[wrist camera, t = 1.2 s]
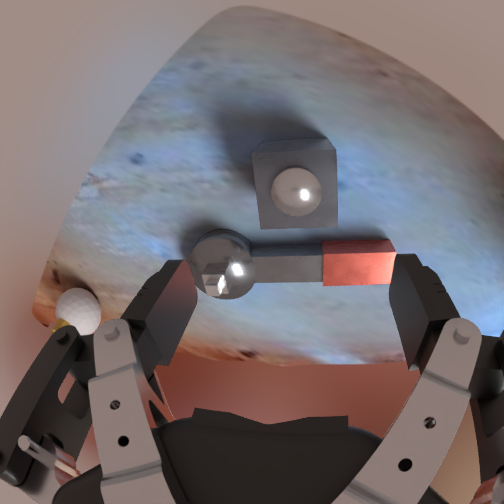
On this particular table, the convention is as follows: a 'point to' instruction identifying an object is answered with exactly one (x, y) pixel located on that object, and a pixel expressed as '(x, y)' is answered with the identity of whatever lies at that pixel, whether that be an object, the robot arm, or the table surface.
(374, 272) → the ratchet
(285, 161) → the cube with chrome knob
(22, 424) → the robot arm
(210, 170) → the table surface
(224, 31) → the table surface
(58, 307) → the perfume bottle
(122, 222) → the table surface
